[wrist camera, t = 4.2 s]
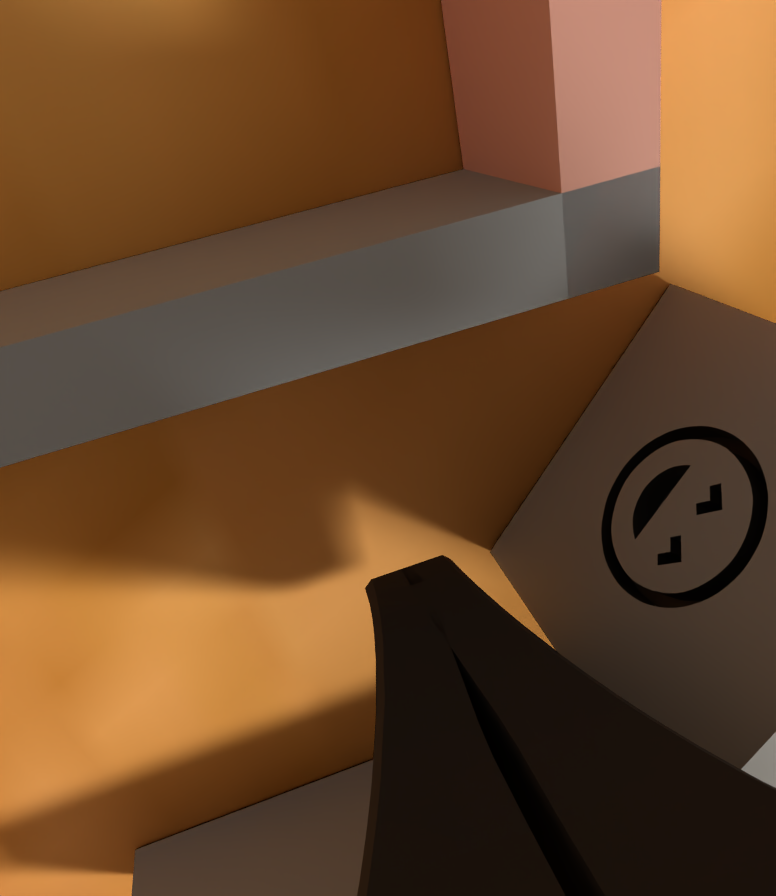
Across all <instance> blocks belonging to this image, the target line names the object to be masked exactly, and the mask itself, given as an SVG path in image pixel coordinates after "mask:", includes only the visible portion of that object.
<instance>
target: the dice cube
mask: <svg viewBox="0 0 776 896" xmlns="http://www.w3.org/2000/svg"><path fill="white" fill-rule="evenodd" d="M490 553H491V554H492V556H493V557H494V559H495V560H496V562H497V563H498V565H499V566H500V568H501V569H502V571H503V572H504V574H505V575H506V577H507V578H508V580H509V581H510V582H511V584H512V585H513V587H514V588H515V590H516V591H517V593H518V594H519V596H520V597H521V599H522V600H523V602H524V603H525V605H526V606H527V608H528V609H529V611H530V612H531V614H532V615H533V617H534V618H535V620H536V621H537V623H538V624H539V626H540V627H541V629H542V630H543V632H544V633H545V635H546V636H547V638H548V639H549V641H550V642H551V644H552V645H553V647H554V648H555V650H556V651H557V652H558V653H560V654H561V655H562V656H564V657H565V658H566V659H568V660H569V661H570V662H572V663H573V664H575V665H576V666H577V667H579V668H580V669H581V670H583V671H584V672H586V673H587V674H588V675H590V676H591V677H593V678H594V679H596V680H597V681H598V682H600V683H601V684H603V685H604V686H606V687H607V688H609V689H610V690H611V691H613V692H614V693H616V694H617V695H619V696H620V697H622V698H623V699H625V700H626V701H628V702H629V703H631V704H632V705H634V706H635V707H637V708H638V709H640V710H641V711H643V712H645V713H646V714H648V715H649V716H651V717H652V718H654V719H656V720H657V721H659V722H660V723H662V724H664V725H665V726H667V727H669V728H670V729H672V730H674V731H675V732H677V733H679V734H680V735H682V736H684V737H685V738H687V739H689V740H690V741H692V742H694V743H695V744H697V745H699V746H700V747H702V748H704V749H706V750H707V751H709V752H711V753H713V754H714V755H716V756H718V757H720V758H721V759H723V760H725V761H727V762H729V763H730V764H732V765H734V766H736V767H737V768H739V769H741V770H743V771H745V772H746V773H748V774H750V775H752V776H754V777H755V778H757V779H759V780H761V781H763V782H765V783H767V784H769V785H771V786H773V787H775V788H776V323H773V322H770V321H768V320H765V319H763V318H760V317H757V316H755V315H752V314H749V313H747V312H744V311H741V310H739V309H736V308H733V307H731V306H728V305H725V304H723V303H720V302H718V301H715V300H712V299H710V298H707V297H704V296H702V295H699V294H696V293H694V292H691V291H688V290H686V289H683V288H680V287H678V286H675V285H673V284H670V285H669V287H668V288H667V290H666V291H665V293H664V294H663V296H662V297H661V299H660V300H659V302H658V303H657V305H656V306H655V308H654V309H653V311H652V312H651V314H650V315H649V317H648V318H647V319H646V321H645V322H644V324H643V325H642V327H641V328H640V330H639V331H638V333H637V334H636V336H635V337H634V339H633V340H632V342H631V343H630V345H629V346H628V348H627V349H626V351H625V352H624V354H623V355H622V357H621V358H620V360H619V361H618V363H617V364H616V366H615V367H614V369H613V370H612V371H611V373H610V374H609V376H608V377H607V379H606V380H605V382H604V383H603V385H602V386H601V388H600V389H599V391H598V392H597V394H596V395H595V397H594V398H593V400H592V401H591V403H590V404H589V406H588V407H587V409H586V410H585V412H584V413H583V415H582V416H581V418H580V419H579V421H578V422H577V423H576V425H575V426H574V428H573V429H572V431H571V432H570V434H569V435H568V437H567V438H566V440H565V441H564V443H563V444H562V446H561V447H560V449H559V450H558V452H557V453H556V455H555V456H554V458H553V459H552V461H551V462H550V464H549V465H548V467H547V468H546V470H545V471H544V473H543V474H542V475H541V477H540V478H539V480H538V481H537V483H536V484H535V486H534V487H533V489H532V490H531V492H530V493H529V495H528V496H527V498H526V499H525V501H524V502H523V504H522V505H521V507H520V508H519V510H518V511H517V513H516V514H515V516H514V517H513V519H512V520H511V522H510V523H509V525H508V526H507V527H506V529H505V530H504V532H503V533H502V535H501V536H500V538H499V539H498V541H497V542H496V544H495V545H494V547H493V548H492V550H491V551H490Z"/></svg>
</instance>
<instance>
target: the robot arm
mask: <svg viewBox="0 0 776 896" xmlns="http://www.w3.org/2000/svg"><path fill="white" fill-rule="evenodd" d="M365 589H366V593H367V596H368V599H369V603H370V607H371V613H372V619H373V627H374V637H375V652H376V725H375V740H374V755H373V770H372V784H371V794H370V804H369V813H368V822H367V830H366V838H365V845H364V853H363V860H362V867H361V874H360V881H359V887H358V893H357V896H776V788H775V787H773V786H771V785H769V784H767V783H765V782H763V781H761V780H759V779H757V778H755V777H754V776H752V775H750V774H748V773H746V772H745V771H743V770H741V769H739V768H737V767H736V766H734V765H732V764H730V763H729V762H727V761H725V760H723V759H721V758H720V757H718V756H716V755H714V754H713V753H711V752H709V751H707V750H706V749H704V748H702V747H700V746H699V745H697V744H695V743H694V742H692V741H690V740H689V739H687V738H685V737H684V736H682V735H680V734H679V733H677V732H675V731H674V730H672V729H670V728H669V727H667V726H665V725H664V724H662V723H660V722H659V721H657V720H656V719H654V718H652V717H651V716H649V715H648V714H646V713H645V712H643V711H641V710H640V709H638V708H637V707H635V706H634V705H632V704H631V703H629V702H628V701H626V700H625V699H623V698H622V697H620V696H619V695H617V694H616V693H614V692H613V691H611V690H610V689H609V688H607V687H606V686H604V685H603V684H601V683H600V682H598V681H597V680H596V679H594V678H593V677H591V676H590V675H588V674H587V673H586V672H584V671H583V670H581V669H580V668H579V667H577V666H576V665H575V664H573V663H572V662H570V661H569V660H568V659H566V658H565V657H564V656H562V655H561V654H560V653H558V652H557V651H556V650H554V649H553V648H552V647H551V646H549V645H548V644H547V643H546V642H544V641H543V640H542V639H540V638H539V637H538V636H537V635H535V634H534V633H533V632H531V631H530V630H529V629H528V628H526V627H525V626H524V625H523V624H521V623H520V622H519V621H518V620H516V619H515V618H514V617H513V616H512V615H510V614H509V613H508V612H507V611H506V610H505V609H503V608H502V607H501V606H500V605H499V604H498V603H496V602H495V601H494V600H493V599H492V598H491V597H490V596H488V595H487V594H486V593H485V592H484V591H483V590H482V589H481V588H480V587H478V586H477V585H476V584H475V583H474V582H473V581H472V580H471V579H470V578H469V577H468V576H467V575H466V574H465V573H464V572H463V571H462V570H461V569H460V568H459V567H458V566H457V565H456V564H455V563H454V562H453V561H452V560H451V559H449V558H447V557H445V556H443V555H441V556H438V557H435V558H432V559H429V560H426V561H424V562H421V563H418V564H415V565H412V566H409V567H406V568H403V569H400V570H397V571H394V572H392V573H389V574H386V575H383V576H380V577H377V578H374V579H371V581H370V582H369V584H368V585H367V586H366V588H365Z"/></svg>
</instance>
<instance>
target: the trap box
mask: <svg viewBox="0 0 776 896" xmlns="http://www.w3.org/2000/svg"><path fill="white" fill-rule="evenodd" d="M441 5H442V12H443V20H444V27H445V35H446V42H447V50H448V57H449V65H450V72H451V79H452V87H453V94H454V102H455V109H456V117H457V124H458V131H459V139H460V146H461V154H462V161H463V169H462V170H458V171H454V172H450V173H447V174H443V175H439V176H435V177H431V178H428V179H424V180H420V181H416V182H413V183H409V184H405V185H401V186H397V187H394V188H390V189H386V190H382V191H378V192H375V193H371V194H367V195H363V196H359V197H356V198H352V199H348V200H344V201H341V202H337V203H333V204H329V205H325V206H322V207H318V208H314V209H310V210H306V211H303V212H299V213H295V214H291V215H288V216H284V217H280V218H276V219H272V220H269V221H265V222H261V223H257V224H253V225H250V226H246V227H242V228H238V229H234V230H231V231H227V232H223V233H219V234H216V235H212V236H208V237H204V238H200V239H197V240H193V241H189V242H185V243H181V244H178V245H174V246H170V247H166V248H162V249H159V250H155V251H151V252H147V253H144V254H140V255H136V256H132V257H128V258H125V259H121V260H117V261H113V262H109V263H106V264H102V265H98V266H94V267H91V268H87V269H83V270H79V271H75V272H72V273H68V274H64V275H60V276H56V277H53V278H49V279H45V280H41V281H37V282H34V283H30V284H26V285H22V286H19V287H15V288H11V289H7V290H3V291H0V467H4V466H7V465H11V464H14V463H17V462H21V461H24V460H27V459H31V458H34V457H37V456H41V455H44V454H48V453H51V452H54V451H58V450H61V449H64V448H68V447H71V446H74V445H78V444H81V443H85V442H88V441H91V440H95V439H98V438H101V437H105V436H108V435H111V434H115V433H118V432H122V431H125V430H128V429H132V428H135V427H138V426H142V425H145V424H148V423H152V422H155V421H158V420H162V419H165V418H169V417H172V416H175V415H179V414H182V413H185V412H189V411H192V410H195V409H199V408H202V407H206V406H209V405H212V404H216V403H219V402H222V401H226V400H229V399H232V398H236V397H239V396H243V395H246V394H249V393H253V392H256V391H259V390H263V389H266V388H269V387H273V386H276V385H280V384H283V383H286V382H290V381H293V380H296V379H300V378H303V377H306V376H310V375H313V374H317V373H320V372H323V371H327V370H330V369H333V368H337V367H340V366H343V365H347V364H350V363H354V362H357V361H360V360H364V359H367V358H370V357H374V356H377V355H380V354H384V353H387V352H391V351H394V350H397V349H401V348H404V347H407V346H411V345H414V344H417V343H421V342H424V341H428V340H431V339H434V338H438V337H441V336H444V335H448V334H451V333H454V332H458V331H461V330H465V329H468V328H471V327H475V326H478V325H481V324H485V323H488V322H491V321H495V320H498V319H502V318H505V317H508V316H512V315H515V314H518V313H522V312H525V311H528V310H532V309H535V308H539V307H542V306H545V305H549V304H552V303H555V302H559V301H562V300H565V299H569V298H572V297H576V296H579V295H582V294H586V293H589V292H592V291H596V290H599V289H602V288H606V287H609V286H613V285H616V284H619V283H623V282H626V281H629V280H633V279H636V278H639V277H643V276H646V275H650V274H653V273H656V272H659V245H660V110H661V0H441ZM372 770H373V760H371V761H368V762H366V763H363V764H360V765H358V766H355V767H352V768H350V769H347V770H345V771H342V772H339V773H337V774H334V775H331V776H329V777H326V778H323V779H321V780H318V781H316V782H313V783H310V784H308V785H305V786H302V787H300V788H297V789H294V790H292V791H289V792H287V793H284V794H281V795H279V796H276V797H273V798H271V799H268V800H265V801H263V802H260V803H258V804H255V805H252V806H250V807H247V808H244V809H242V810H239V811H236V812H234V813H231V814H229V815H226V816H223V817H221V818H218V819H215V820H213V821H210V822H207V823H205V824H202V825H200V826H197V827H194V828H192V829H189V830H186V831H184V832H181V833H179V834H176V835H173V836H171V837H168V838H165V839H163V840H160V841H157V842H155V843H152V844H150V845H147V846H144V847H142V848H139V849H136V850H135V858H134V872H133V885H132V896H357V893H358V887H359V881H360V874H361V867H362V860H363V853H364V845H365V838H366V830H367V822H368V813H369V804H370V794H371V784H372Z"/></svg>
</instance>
